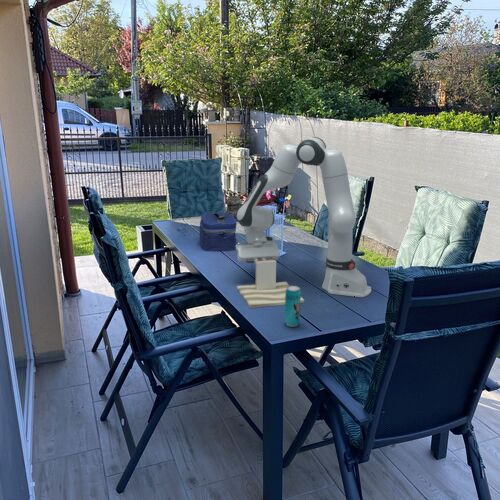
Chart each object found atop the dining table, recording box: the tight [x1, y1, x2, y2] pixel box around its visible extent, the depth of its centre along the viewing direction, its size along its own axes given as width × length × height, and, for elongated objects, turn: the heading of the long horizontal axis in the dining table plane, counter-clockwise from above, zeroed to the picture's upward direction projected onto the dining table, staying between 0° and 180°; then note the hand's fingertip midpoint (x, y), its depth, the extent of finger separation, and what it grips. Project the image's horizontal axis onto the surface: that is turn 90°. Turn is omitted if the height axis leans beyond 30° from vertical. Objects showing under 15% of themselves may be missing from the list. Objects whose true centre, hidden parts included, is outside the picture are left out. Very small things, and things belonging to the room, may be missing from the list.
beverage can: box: [284, 285, 302, 328], centre depth 186 cm, size 6×6×15 cm
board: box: [236, 281, 305, 309], centre depth 217 cm, size 24×24×1 cm
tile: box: [254, 259, 277, 290], centre depth 221 cm, size 9×2×13 cm, turn 105°
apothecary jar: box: [224, 195, 242, 223], centre depth 362 cm, size 12×12×18 cm
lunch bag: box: [199, 212, 238, 252], centre depth 293 cm, size 31×21×20 cm
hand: (261, 267), depth 227 cm, fingers closed
